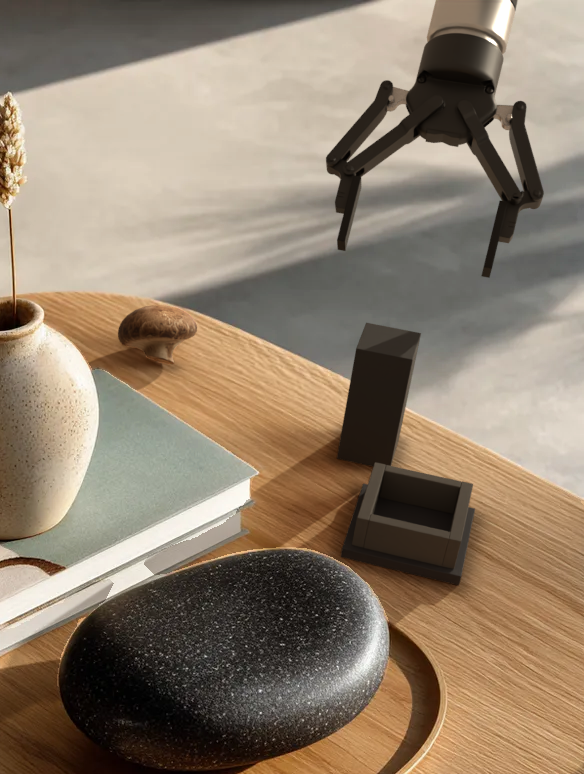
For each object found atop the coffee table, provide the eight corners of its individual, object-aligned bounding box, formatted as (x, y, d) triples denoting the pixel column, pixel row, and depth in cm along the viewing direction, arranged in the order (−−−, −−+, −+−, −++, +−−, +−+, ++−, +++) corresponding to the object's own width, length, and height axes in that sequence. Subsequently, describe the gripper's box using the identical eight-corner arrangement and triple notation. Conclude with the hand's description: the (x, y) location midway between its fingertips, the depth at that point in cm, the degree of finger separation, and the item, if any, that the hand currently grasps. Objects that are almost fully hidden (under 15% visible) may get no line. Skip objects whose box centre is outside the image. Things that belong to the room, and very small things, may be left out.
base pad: (473, 517, 118) (482, 480, 116) (459, 585, 111) (468, 548, 109) (361, 491, 121) (368, 455, 119) (340, 557, 113) (347, 520, 111)
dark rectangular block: (398, 442, 128) (421, 332, 120) (389, 470, 124) (412, 359, 116) (346, 430, 129) (366, 322, 122) (336, 458, 125) (356, 348, 118)
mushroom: (185, 359, 132) (175, 296, 132) (112, 372, 135) (102, 311, 135) (211, 360, 139) (202, 300, 139) (141, 373, 143) (132, 315, 143)
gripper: (593, 87, 128) (544, 296, 126) (336, 49, 134) (285, 248, 132) (607, 49, 121) (554, 270, 119) (334, 10, 127) (280, 220, 124)
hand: (412, 259), depth 125 cm, fingers open, 13 cm apart
